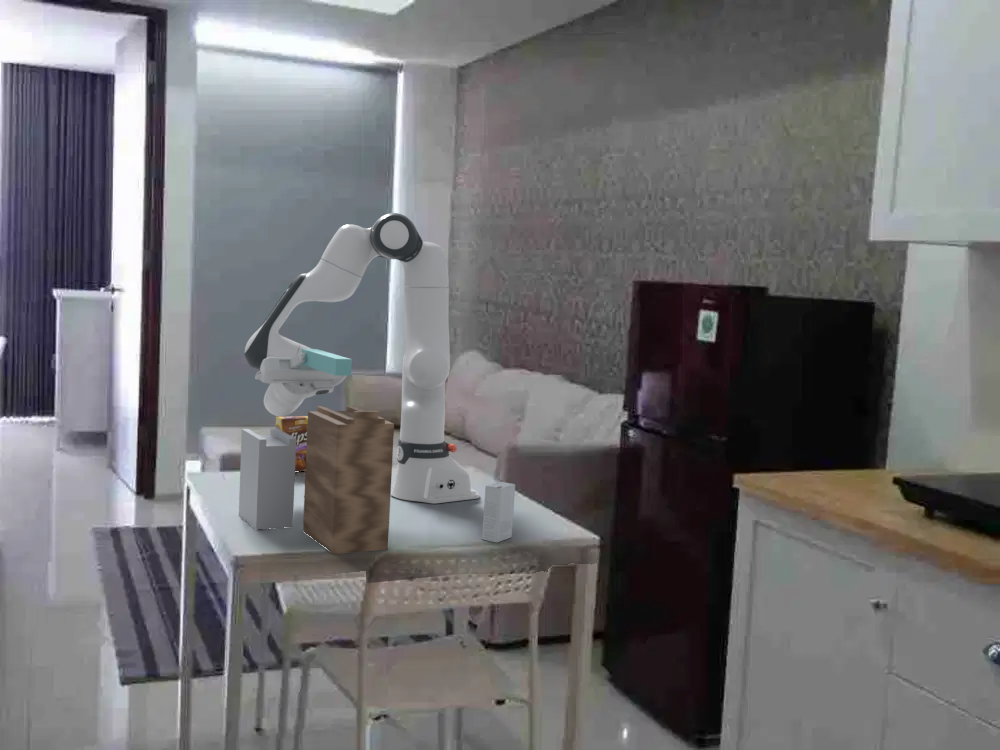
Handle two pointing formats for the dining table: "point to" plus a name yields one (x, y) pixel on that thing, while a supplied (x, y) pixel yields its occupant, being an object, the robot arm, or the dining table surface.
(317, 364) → the rail
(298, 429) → the candy box
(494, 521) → the skincare box
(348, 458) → the notched wooden block
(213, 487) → the dining table surface
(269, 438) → the rest block
